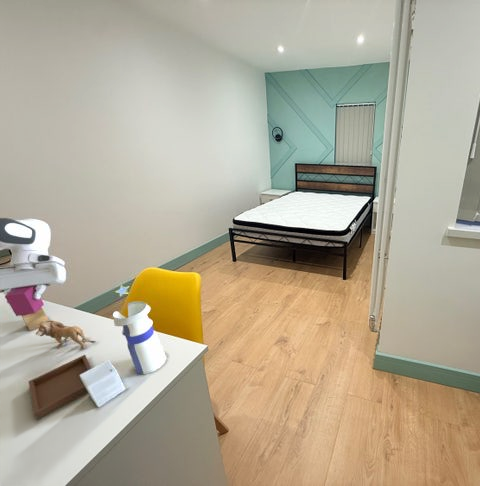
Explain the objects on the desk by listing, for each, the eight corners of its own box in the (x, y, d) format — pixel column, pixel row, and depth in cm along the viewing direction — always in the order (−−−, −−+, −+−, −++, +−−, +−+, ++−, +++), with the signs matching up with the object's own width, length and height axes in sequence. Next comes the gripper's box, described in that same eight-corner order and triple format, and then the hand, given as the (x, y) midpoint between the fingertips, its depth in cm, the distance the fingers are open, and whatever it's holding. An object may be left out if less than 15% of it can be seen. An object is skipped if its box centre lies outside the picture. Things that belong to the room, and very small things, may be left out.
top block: (16, 316, 87) (4, 296, 84) (26, 307, 92) (15, 288, 88) (35, 313, 89) (24, 293, 86) (44, 304, 93) (34, 285, 90)
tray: (32, 386, 70) (28, 381, 69) (87, 359, 78) (84, 354, 77) (37, 419, 62) (33, 414, 61) (99, 385, 70) (96, 380, 69)
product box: (117, 378, 72) (108, 358, 69) (126, 389, 68) (117, 369, 66) (89, 395, 67) (78, 374, 64) (97, 408, 64) (86, 387, 61)
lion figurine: (41, 350, 81) (28, 328, 77) (57, 338, 86) (45, 316, 82) (90, 349, 81) (79, 326, 78) (102, 336, 86) (92, 314, 83)
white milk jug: (125, 371, 74) (93, 297, 64) (152, 349, 81) (127, 280, 71) (147, 379, 71) (117, 303, 61) (172, 355, 79) (150, 285, 69)
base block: (30, 330, 89) (22, 316, 87) (26, 325, 92) (18, 311, 90) (50, 322, 93) (42, 308, 91) (46, 317, 96) (38, 304, 93)
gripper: (-18, 264, 87) (-27, 305, 82) (58, 255, 93) (54, 293, 88) (-1, 270, 92) (-9, 309, 88) (70, 261, 98) (67, 297, 94)
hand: (23, 301), depth 88 cm, fingers closed on top block, 5 cm apart
